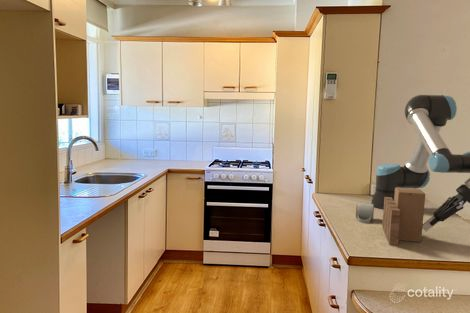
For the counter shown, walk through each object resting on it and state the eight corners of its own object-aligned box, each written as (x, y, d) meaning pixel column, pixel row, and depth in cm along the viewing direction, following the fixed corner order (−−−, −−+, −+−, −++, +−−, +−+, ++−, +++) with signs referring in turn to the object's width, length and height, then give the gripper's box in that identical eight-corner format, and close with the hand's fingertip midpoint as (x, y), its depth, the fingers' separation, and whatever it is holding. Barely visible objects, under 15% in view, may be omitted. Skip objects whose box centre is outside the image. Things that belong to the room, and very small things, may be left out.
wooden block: (421, 242, 155) (425, 193, 153) (394, 239, 158) (398, 191, 155) (416, 234, 165) (420, 188, 162) (391, 232, 167) (394, 187, 165)
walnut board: (382, 227, 175) (384, 196, 173) (389, 227, 174) (391, 197, 172) (389, 244, 152) (391, 210, 150) (397, 245, 151) (400, 210, 149)
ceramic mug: (355, 216, 192) (356, 201, 191) (373, 218, 189) (374, 202, 188) (354, 222, 182) (355, 206, 181) (373, 224, 180) (374, 208, 179)
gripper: (484, 200, 146) (434, 240, 152) (472, 194, 159) (426, 231, 165) (469, 186, 147) (419, 226, 153) (458, 181, 160) (413, 218, 165)
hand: (423, 228), depth 159 cm, fingers closed
